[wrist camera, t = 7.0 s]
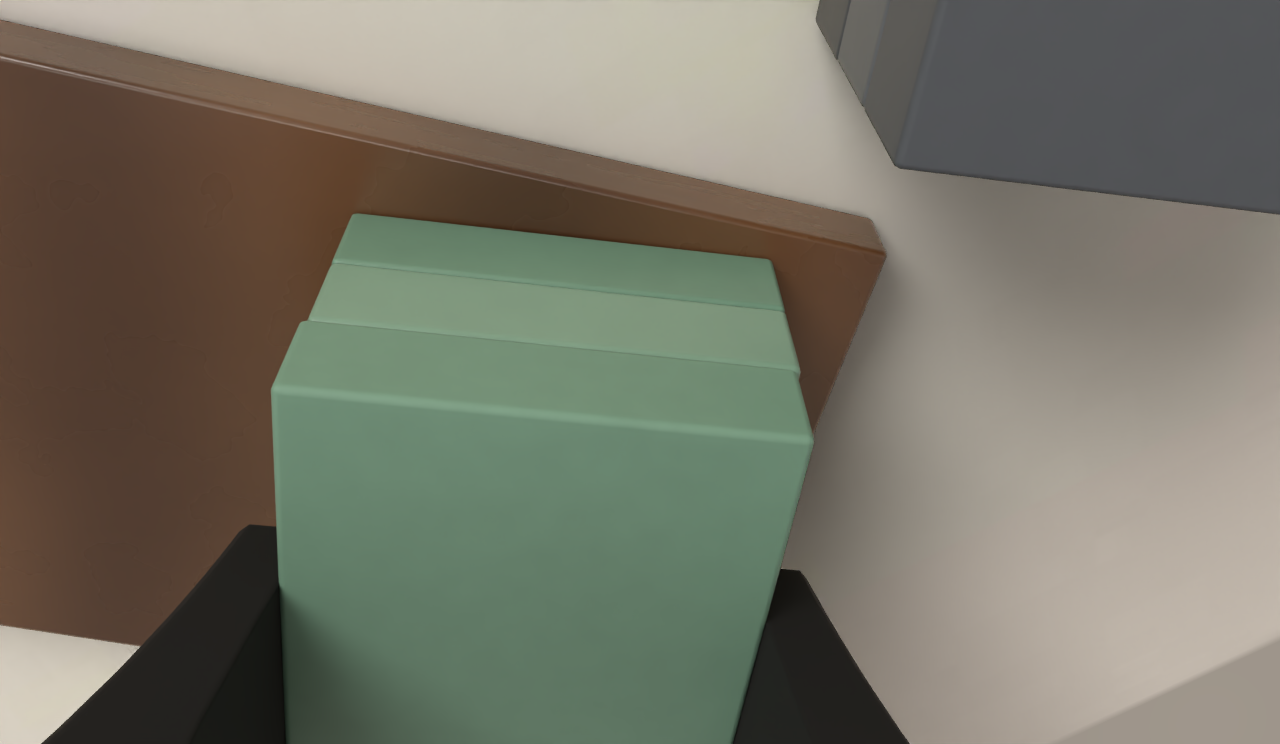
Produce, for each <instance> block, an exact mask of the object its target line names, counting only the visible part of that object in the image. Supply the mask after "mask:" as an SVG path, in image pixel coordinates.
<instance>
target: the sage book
mask: <svg viewBox="0 0 1280 744" xmlns="http://www.w3.org/2000/svg"><path fill="white" fill-rule="evenodd" d="M271 406H272V430H273V455H274V479H275V504H276V528H277V553H278V577H279V589H280V614H281V638H282V663H283V688H284V712H285V737H286V744H733V741H734V738H735V734H736V730H737V727H738V723H739V719H740V715H741V712H742V708H743V704H744V701H745V697H746V693H747V689H748V686H749V682H750V678H751V675H752V671H753V667H754V663H755V660H756V656H757V652H758V649H759V645H760V641H761V637H762V634H763V630H764V626H765V623H766V620H767V616H768V612H769V609H770V605H771V601H772V597H773V594H774V590H775V586H776V583H777V579H778V575H779V571H780V568H781V564H782V560H783V557H784V553H785V549H786V545H787V542H788V538H789V534H790V531H791V527H792V523H793V519H794V516H795V512H796V508H797V505H798V501H799V497H800V493H801V490H802V486H803V482H804V479H805V475H806V471H807V467H808V464H809V460H810V456H811V453H812V449H813V445H814V438H813V434H812V430H811V426H810V422H809V418H808V414H807V410H806V407H805V403H804V399H803V395H802V391H801V387H800V383H799V380H798V376H797V373H796V372H794V371H792V370H786V369H776V368H766V367H757V366H747V365H737V364H727V363H718V362H708V361H698V360H688V359H679V358H669V357H659V356H649V355H639V354H630V353H620V352H610V351H600V350H591V349H581V348H571V347H561V346H552V345H542V344H532V343H522V342H513V341H503V340H493V339H483V338H474V337H464V336H454V335H444V334H435V333H425V332H415V331H405V330H396V329H386V328H376V327H366V326H357V325H347V324H337V323H327V322H317V321H302V322H301V323H300V324H299V326H298V328H297V330H296V333H295V335H294V337H293V339H292V342H291V344H290V346H289V349H288V351H287V353H286V355H285V358H284V360H283V362H282V365H281V367H280V369H279V372H278V374H277V376H276V378H275V381H274V383H273V385H272V388H271Z"/></svg>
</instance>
